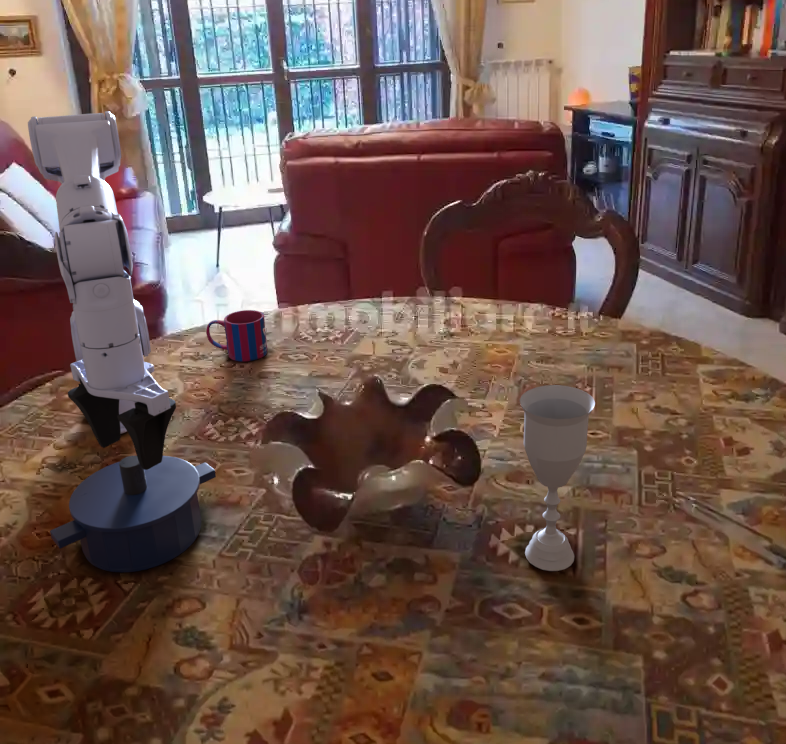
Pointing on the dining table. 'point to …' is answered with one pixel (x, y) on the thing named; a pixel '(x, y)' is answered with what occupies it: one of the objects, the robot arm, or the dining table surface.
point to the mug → (243, 335)
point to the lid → (133, 494)
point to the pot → (138, 538)
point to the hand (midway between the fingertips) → (130, 453)
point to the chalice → (554, 460)
